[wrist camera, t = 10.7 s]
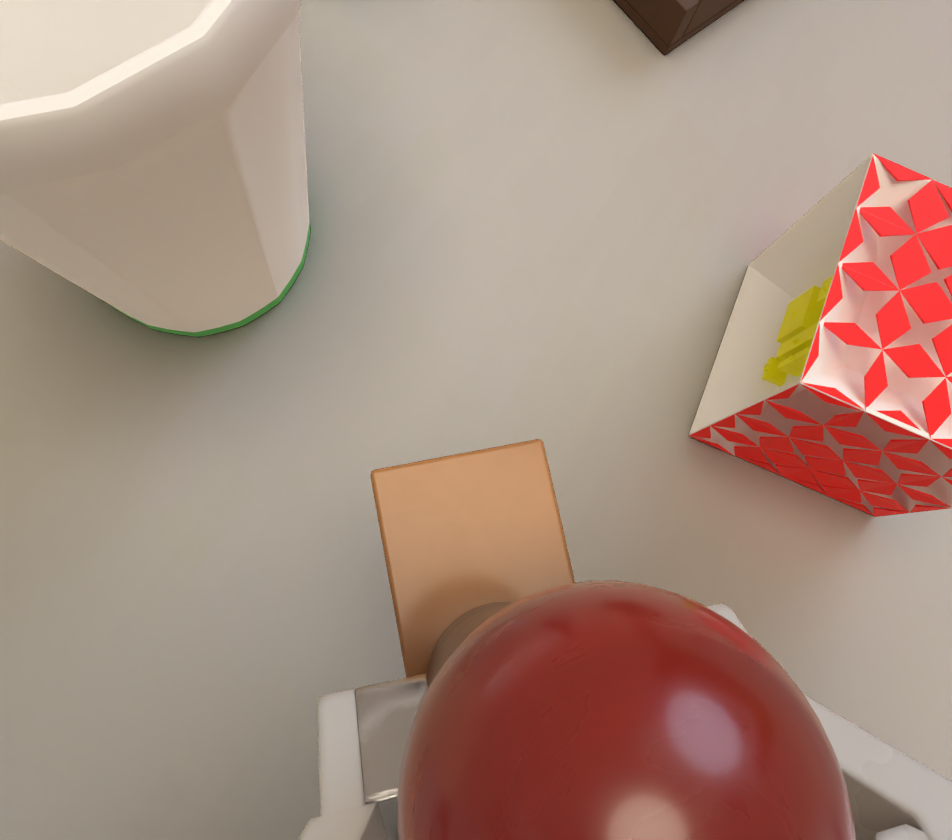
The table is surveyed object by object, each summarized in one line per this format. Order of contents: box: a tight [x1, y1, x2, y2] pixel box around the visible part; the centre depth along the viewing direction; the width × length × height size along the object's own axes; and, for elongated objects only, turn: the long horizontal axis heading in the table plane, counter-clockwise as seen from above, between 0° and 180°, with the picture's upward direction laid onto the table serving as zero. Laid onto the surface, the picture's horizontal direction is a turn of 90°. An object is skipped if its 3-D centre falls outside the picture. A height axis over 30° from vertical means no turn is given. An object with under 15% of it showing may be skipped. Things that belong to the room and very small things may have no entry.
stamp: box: [370, 439, 856, 840], centre depth 10 cm, size 9×4×12 cm, turn 12°
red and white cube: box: [689, 154, 952, 517], centre depth 24 cm, size 8×8×8 cm
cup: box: [0, 0, 311, 337], centre depth 19 cm, size 12×12×15 cm
